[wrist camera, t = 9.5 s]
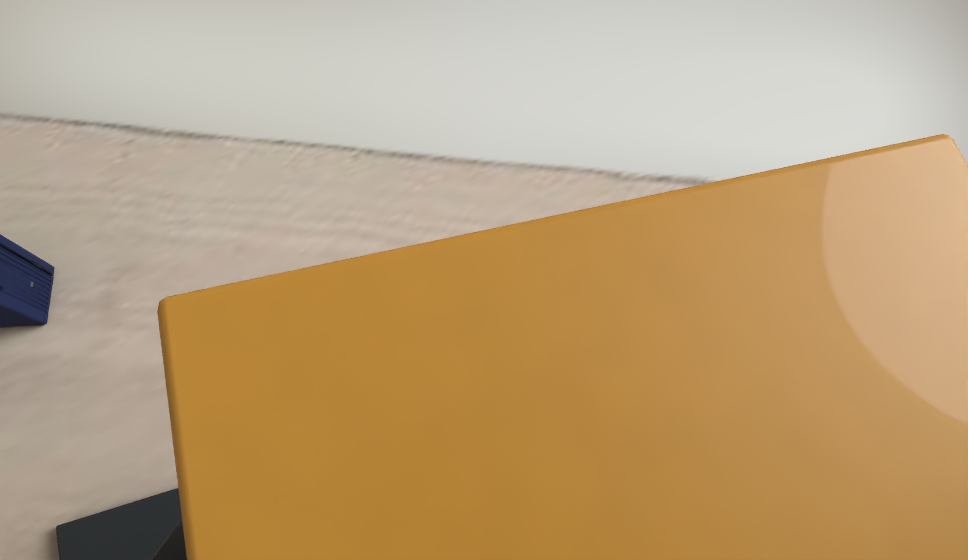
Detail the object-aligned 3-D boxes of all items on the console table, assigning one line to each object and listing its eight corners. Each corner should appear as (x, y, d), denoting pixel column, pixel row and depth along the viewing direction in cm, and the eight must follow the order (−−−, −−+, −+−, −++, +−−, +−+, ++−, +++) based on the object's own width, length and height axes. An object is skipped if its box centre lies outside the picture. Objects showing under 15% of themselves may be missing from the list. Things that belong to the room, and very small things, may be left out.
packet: (634, 494, 13) (1177, 516, 4) (366, 578, 12) (221, 898, 3) (592, 364, 14) (951, 128, 5) (337, 431, 13) (149, 294, 4)
